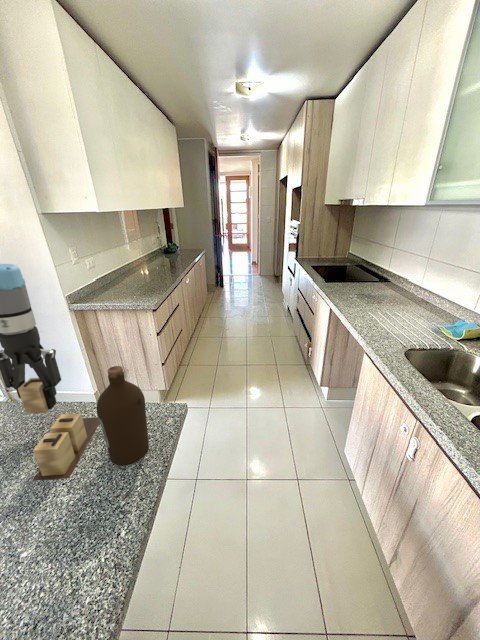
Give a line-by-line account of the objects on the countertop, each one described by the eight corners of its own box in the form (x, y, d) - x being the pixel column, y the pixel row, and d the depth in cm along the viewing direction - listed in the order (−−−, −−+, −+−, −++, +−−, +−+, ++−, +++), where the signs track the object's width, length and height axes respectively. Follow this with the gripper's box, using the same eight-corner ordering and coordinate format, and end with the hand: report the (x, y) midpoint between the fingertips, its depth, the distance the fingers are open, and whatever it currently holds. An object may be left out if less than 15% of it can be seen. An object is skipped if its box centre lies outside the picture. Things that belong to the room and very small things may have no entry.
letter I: (58, 452, 66) (49, 427, 63) (68, 437, 71) (60, 413, 68) (78, 451, 67) (71, 426, 64) (87, 436, 72) (80, 412, 69)
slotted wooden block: (26, 413, 69) (17, 387, 66) (38, 401, 74) (29, 376, 71) (46, 412, 70) (38, 386, 66) (56, 400, 74) (49, 375, 71)
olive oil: (151, 432, 74) (140, 355, 65) (151, 463, 65) (138, 378, 56) (110, 440, 71) (93, 361, 62) (104, 474, 62) (83, 386, 53)
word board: (33, 482, 60) (32, 480, 59) (76, 420, 78) (75, 418, 78) (69, 479, 60) (69, 477, 60) (103, 418, 79) (103, 417, 79)
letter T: (42, 476, 60) (32, 449, 57) (54, 457, 65) (45, 431, 62) (64, 474, 61) (56, 447, 58) (75, 456, 66) (67, 430, 62)
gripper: (-38, 336, 59) (-5, 417, 67) (47, 335, 60) (69, 414, 69) (-11, 323, 66) (15, 398, 74) (64, 323, 67) (82, 396, 76)
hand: (41, 406), depth 71 cm, fingers closed on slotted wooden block, 5 cm apart
